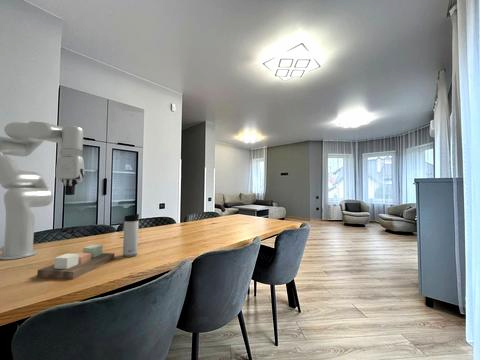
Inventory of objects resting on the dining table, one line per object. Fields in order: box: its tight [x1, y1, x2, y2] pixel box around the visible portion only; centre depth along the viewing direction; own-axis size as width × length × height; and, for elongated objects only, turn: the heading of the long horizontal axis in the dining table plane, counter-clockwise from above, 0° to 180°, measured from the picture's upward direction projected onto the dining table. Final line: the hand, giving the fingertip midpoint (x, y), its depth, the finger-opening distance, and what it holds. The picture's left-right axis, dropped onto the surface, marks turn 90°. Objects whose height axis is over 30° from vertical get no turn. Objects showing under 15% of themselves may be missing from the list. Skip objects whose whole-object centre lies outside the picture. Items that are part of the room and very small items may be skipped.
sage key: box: [82, 244, 103, 258], centre depth 95 cm, size 5×5×4 cm
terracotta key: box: [77, 252, 91, 264], centre depth 88 cm, size 5×5×4 cm
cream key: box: [53, 253, 79, 269], centre depth 82 cm, size 5×5×4 cm
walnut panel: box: [36, 252, 115, 280], centre depth 88 cm, size 14×22×2 cm, turn 175°
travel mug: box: [122, 213, 140, 258], centre depth 104 cm, size 6×7×20 cm
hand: (69, 194), depth 95 cm, fingers closed
